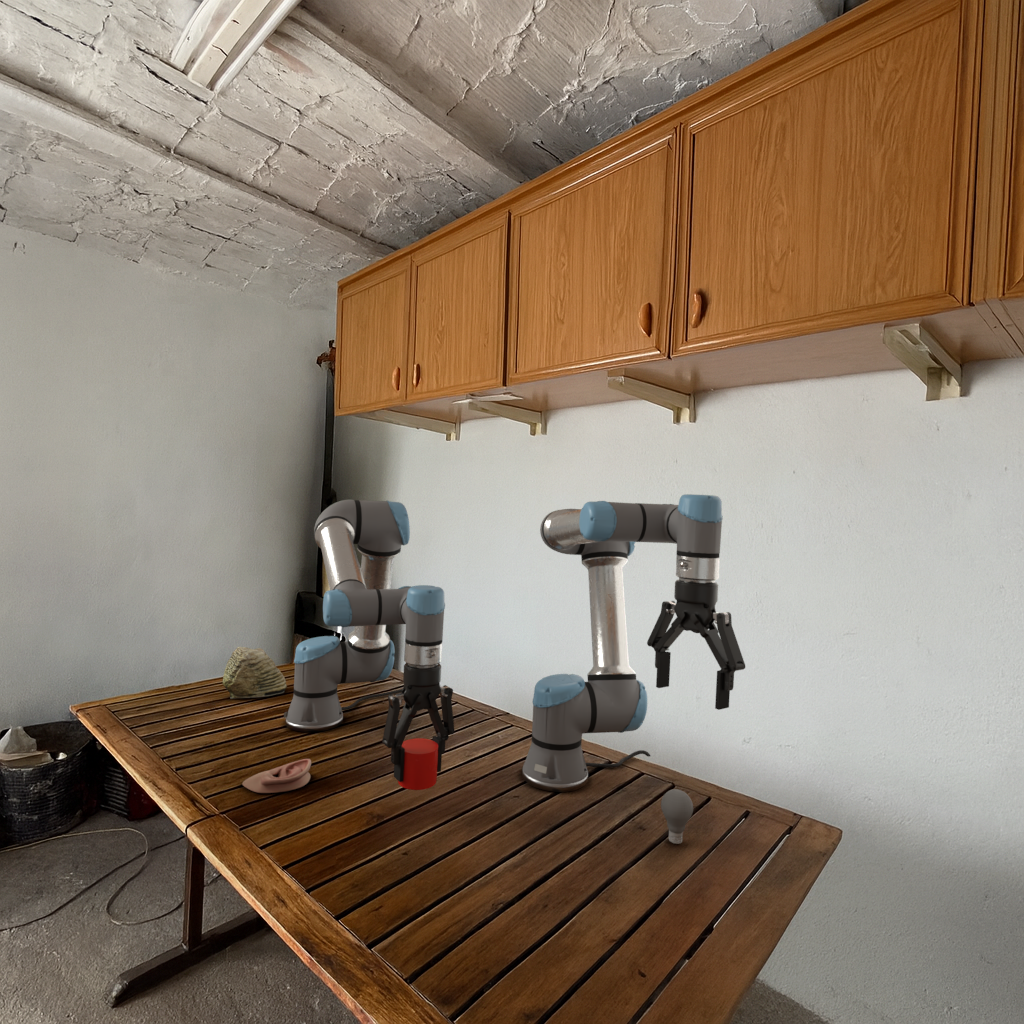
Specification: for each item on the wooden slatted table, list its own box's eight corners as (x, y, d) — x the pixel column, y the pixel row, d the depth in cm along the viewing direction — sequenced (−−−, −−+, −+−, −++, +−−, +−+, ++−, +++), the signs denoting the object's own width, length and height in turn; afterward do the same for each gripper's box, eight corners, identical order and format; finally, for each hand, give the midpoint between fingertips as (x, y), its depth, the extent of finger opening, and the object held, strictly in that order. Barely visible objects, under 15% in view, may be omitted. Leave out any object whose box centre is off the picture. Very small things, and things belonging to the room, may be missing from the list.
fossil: (218, 695, 195) (220, 647, 195) (278, 685, 208) (279, 640, 207) (228, 703, 189) (230, 653, 188) (289, 692, 201) (290, 645, 201)
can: (390, 785, 126) (392, 749, 126) (408, 769, 134) (410, 735, 133) (426, 793, 124) (428, 756, 124) (442, 776, 131) (444, 742, 131)
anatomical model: (234, 771, 135) (265, 750, 146) (233, 789, 135) (265, 767, 146) (290, 779, 132) (318, 757, 143) (290, 798, 132) (317, 775, 143)
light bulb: (655, 834, 124) (657, 783, 124) (684, 834, 125) (687, 783, 124) (665, 851, 118) (667, 798, 118) (696, 851, 119) (698, 798, 118)
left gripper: (383, 674, 119) (378, 794, 120) (475, 661, 131) (470, 769, 132) (367, 664, 125) (362, 778, 126) (456, 652, 137) (451, 756, 138)
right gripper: (632, 572, 123) (627, 681, 123) (742, 590, 102) (736, 721, 102) (659, 571, 127) (654, 676, 127) (771, 588, 106) (764, 714, 106)
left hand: (417, 773), depth 129 cm, fingers closed on can, 8 cm apart
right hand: (690, 697), depth 115 cm, fingers open, 13 cm apart
